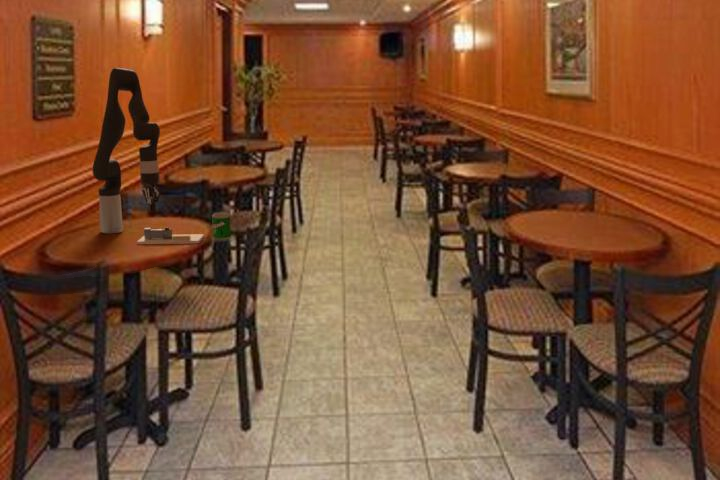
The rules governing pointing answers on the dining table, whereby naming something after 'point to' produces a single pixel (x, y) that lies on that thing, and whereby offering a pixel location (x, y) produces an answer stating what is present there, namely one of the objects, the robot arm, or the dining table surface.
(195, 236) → the lock board
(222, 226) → the soda can
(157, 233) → the latch bar
